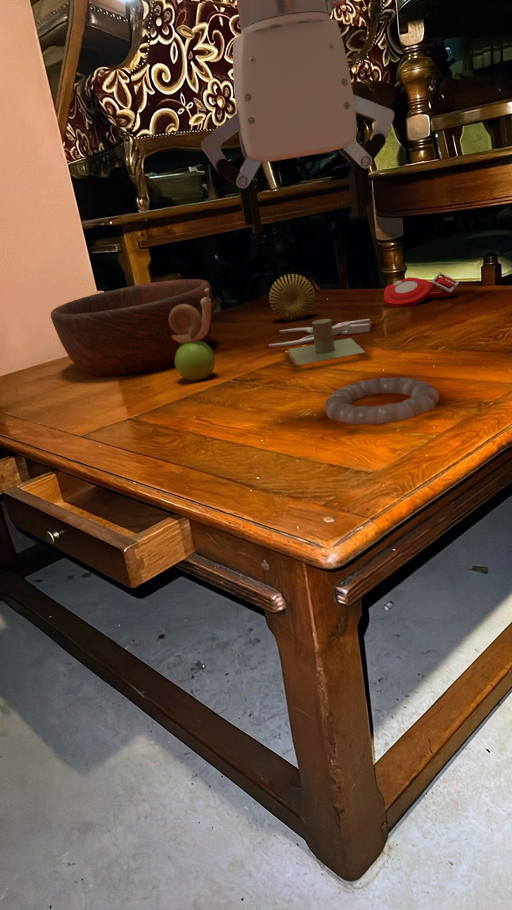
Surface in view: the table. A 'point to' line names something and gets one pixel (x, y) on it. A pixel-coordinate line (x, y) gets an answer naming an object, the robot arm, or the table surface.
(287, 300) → the sculpture
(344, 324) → the pliers
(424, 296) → the tracker holder
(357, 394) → the bracelet
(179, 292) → the wooden bowl
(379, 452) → the table surface
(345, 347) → the stand
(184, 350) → the snail figurine
